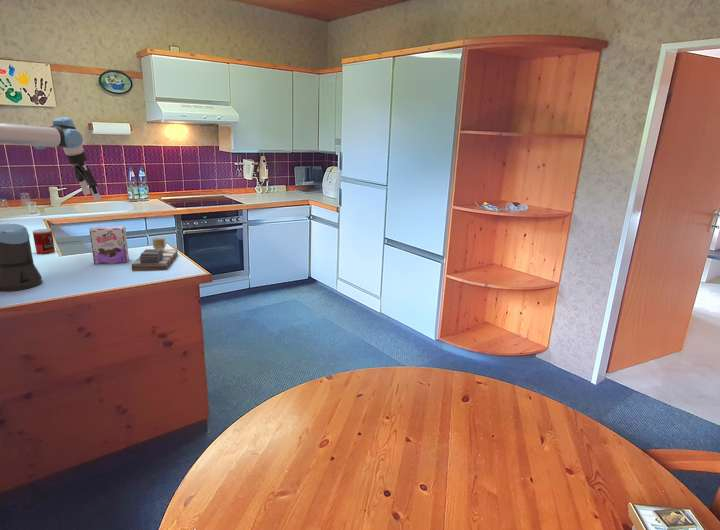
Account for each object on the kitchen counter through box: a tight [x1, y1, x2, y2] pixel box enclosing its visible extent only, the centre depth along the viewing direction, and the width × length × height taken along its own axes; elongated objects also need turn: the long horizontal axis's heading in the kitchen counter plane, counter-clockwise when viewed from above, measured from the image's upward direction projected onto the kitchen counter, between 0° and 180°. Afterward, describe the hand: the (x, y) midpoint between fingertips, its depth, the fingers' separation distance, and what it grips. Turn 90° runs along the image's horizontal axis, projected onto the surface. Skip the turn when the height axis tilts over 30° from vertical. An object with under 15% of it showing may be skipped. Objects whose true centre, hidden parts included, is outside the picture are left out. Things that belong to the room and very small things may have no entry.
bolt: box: [152, 237, 167, 252], centre depth 216 cm, size 10×5×6 cm, turn 11°
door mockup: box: [131, 248, 179, 272], centre depth 211 cm, size 26×14×7 cm, turn 11°
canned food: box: [32, 228, 56, 255], centre depth 223 cm, size 8×8×11 cm
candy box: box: [89, 225, 130, 265], centre depth 209 cm, size 14×6×16 cm, turn 105°
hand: (92, 197), depth 216 cm, fingers open, 13 cm apart
